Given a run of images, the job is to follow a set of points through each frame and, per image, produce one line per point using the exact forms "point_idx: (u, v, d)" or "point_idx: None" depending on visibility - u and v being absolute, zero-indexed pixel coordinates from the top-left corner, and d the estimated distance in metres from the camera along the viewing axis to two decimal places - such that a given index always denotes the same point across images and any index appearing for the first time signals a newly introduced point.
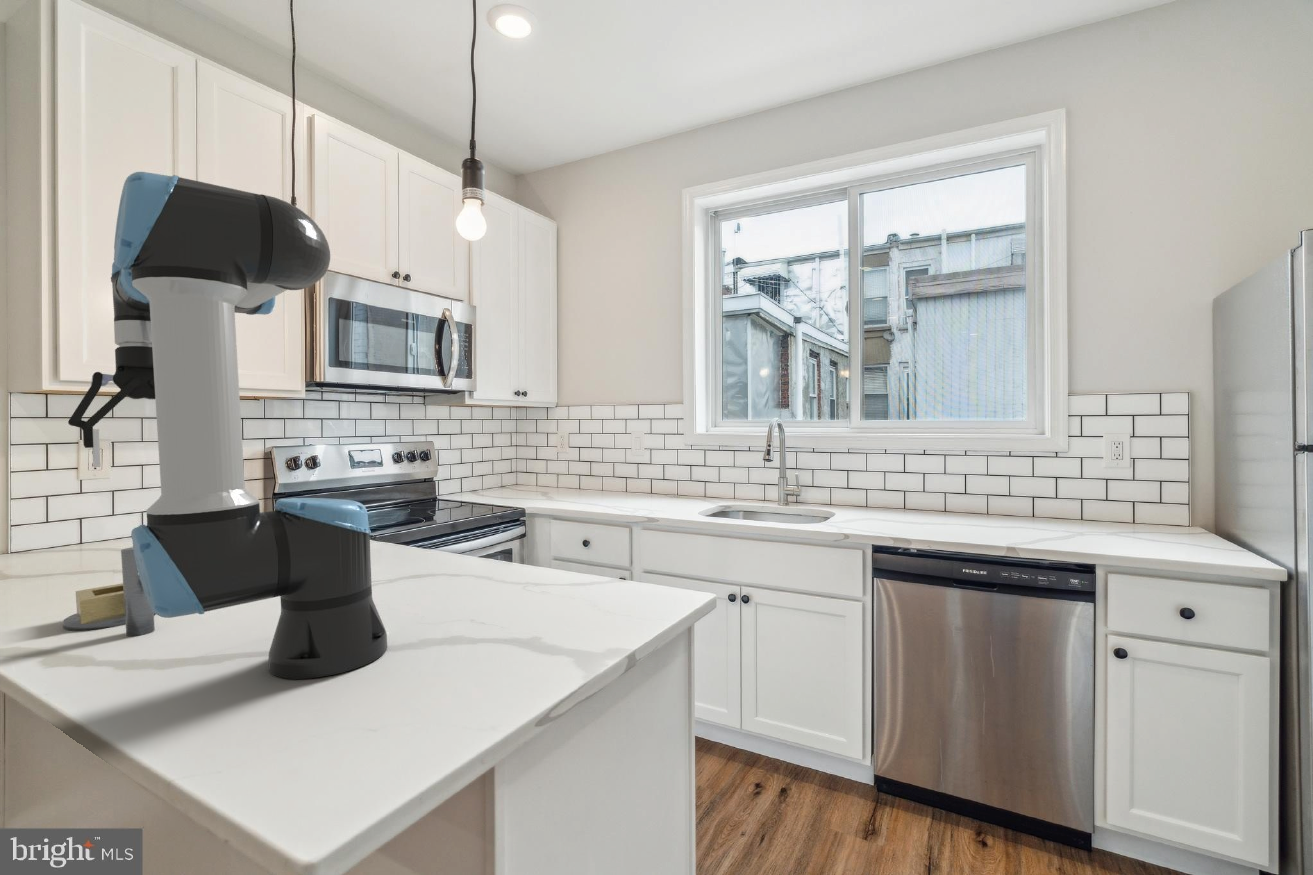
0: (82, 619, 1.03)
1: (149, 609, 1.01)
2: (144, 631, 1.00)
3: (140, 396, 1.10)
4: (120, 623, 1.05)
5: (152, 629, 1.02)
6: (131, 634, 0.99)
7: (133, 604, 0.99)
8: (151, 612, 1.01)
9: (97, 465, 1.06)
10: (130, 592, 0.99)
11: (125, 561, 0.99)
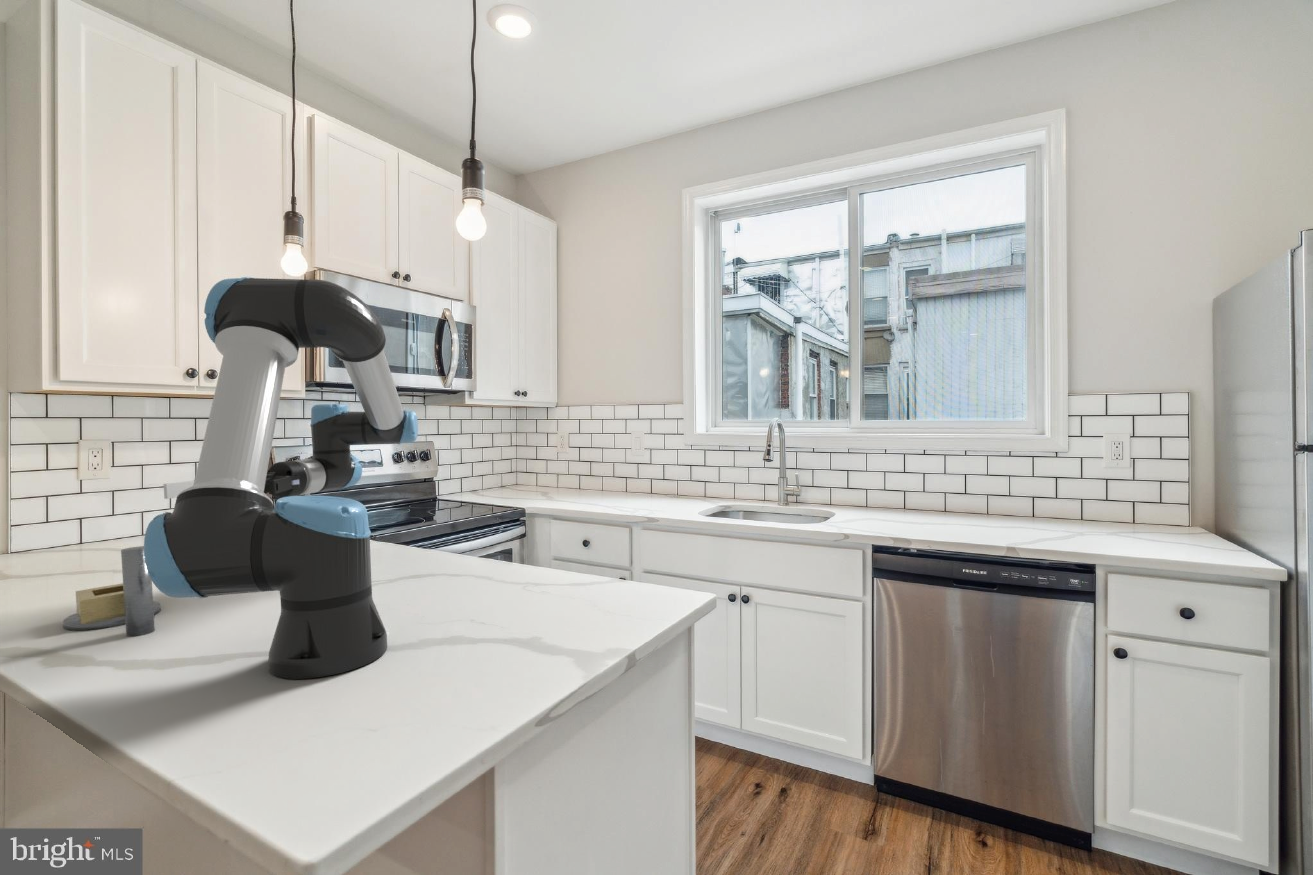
0: (82, 619, 1.03)
1: (149, 609, 1.01)
2: (144, 631, 1.00)
3: None
4: (120, 623, 1.05)
5: (152, 629, 1.02)
6: (131, 634, 0.99)
7: (133, 604, 0.99)
8: (151, 612, 1.01)
9: None
10: (130, 592, 0.99)
11: (125, 561, 0.99)
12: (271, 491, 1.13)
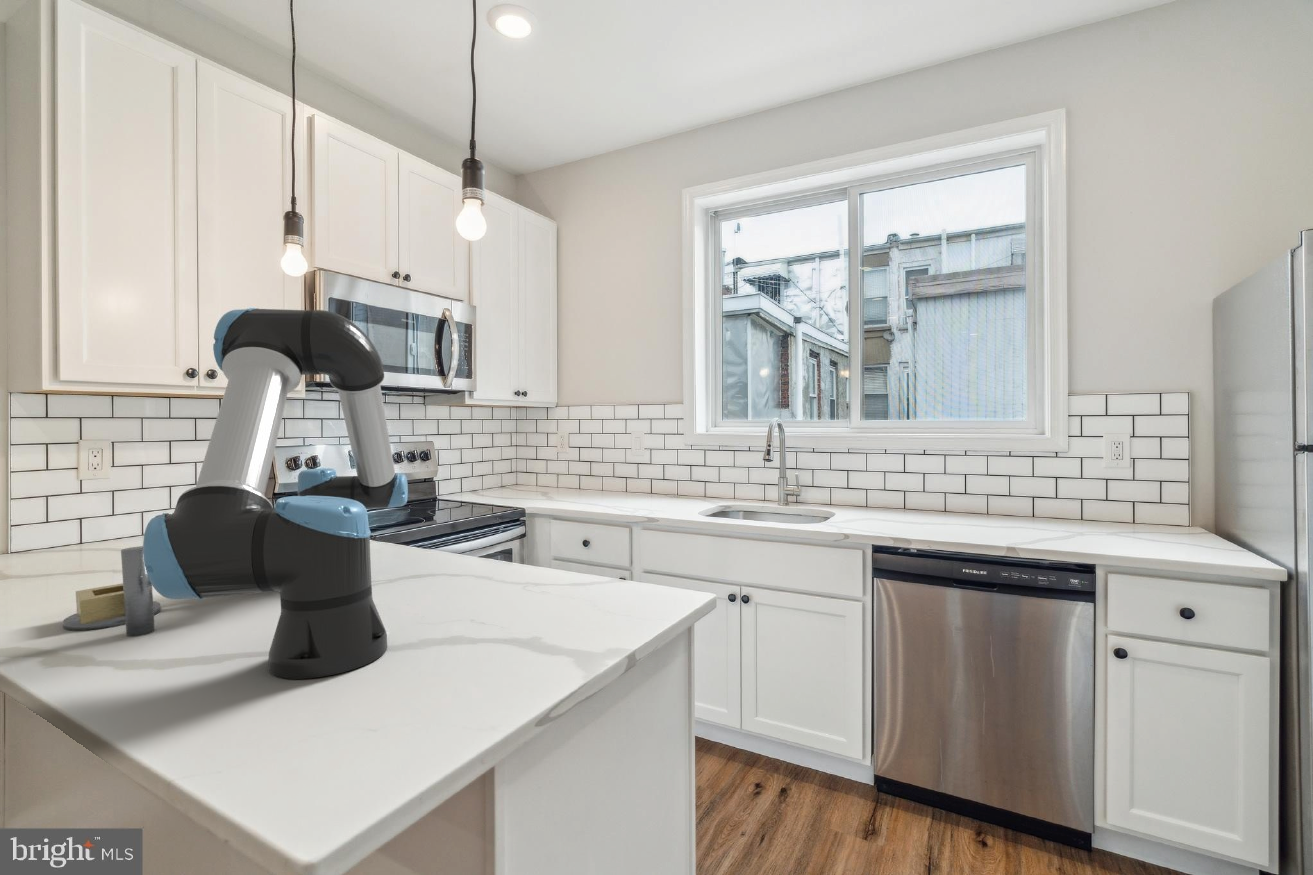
0: (82, 619, 1.03)
1: (149, 609, 1.01)
2: (144, 631, 1.00)
3: None
4: (120, 623, 1.05)
5: (152, 629, 1.02)
6: (131, 634, 0.99)
7: (133, 604, 0.99)
8: (151, 612, 1.01)
9: None
10: (130, 592, 0.99)
11: (125, 561, 0.99)
12: None
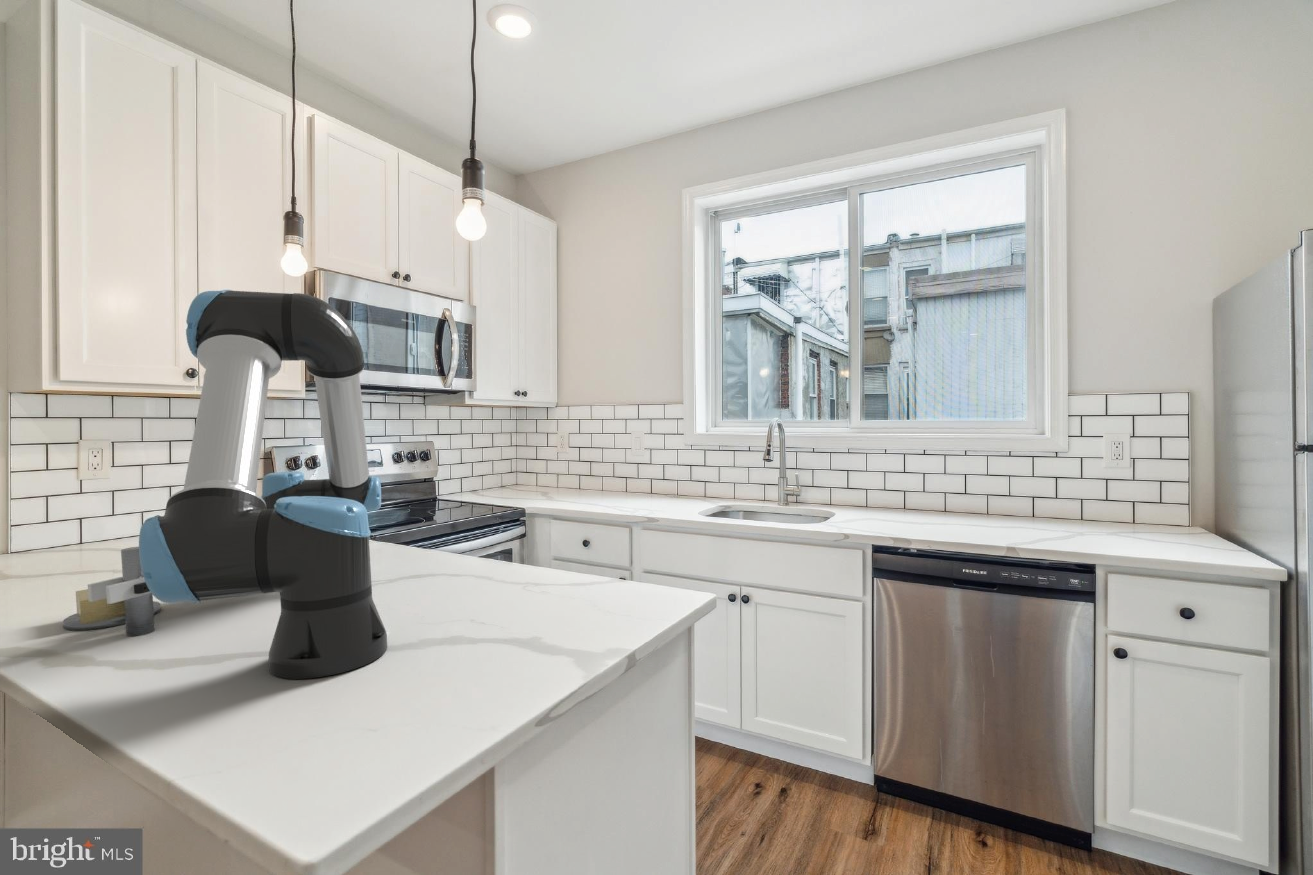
0: (82, 619, 1.03)
1: (149, 609, 1.01)
2: (144, 631, 1.00)
3: None
4: (120, 623, 1.05)
5: (152, 629, 1.02)
6: (131, 634, 0.99)
7: (133, 604, 0.99)
8: (151, 612, 1.01)
9: (91, 584, 0.97)
10: None
11: (125, 561, 0.99)
12: None
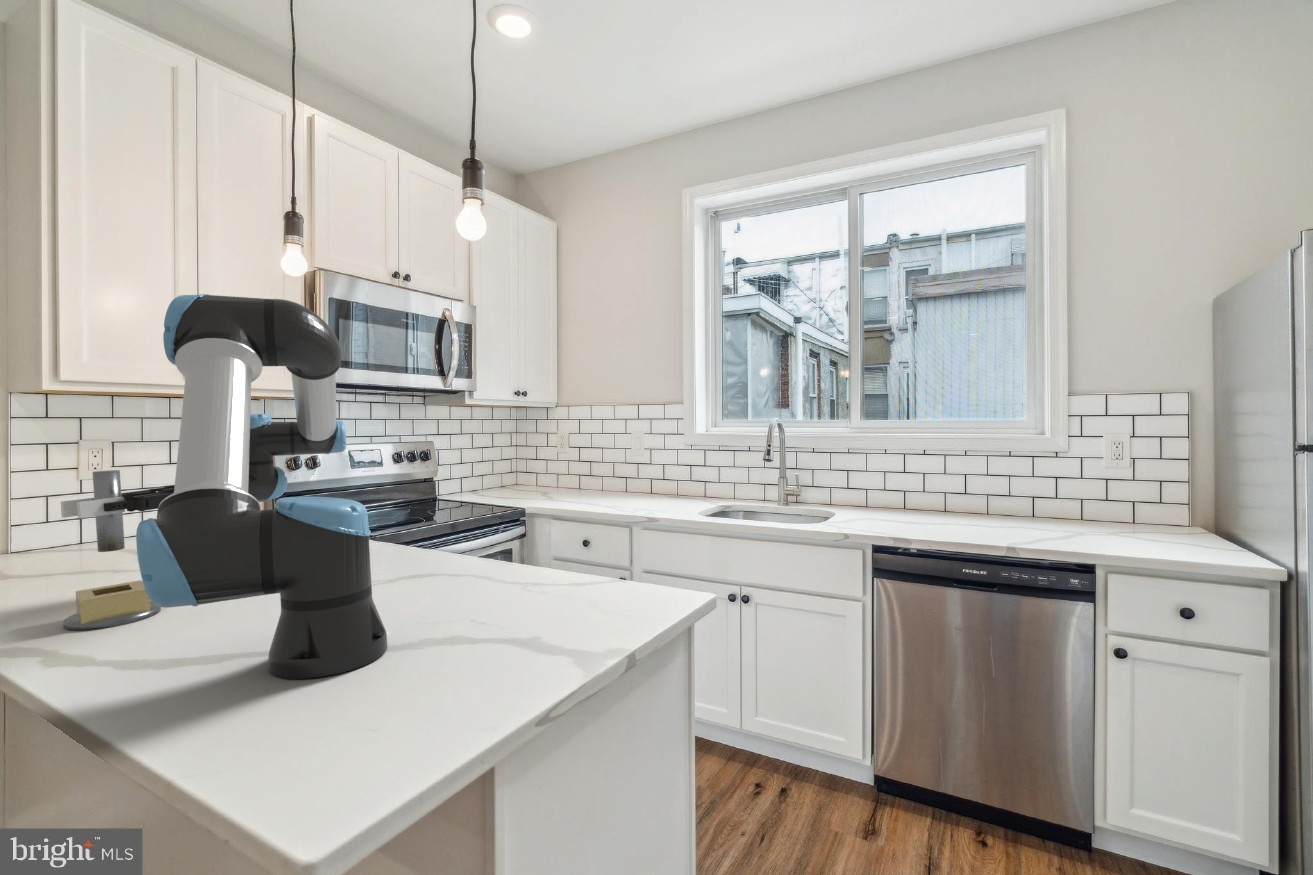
0: (82, 619, 1.03)
1: (119, 528, 1.09)
2: (114, 547, 1.08)
3: (160, 492, 1.17)
4: (120, 623, 1.05)
5: (122, 546, 1.09)
6: (102, 550, 1.07)
7: (103, 521, 1.07)
8: (121, 531, 1.09)
9: (63, 501, 1.04)
10: None
11: (96, 482, 1.07)
12: (140, 508, 1.09)
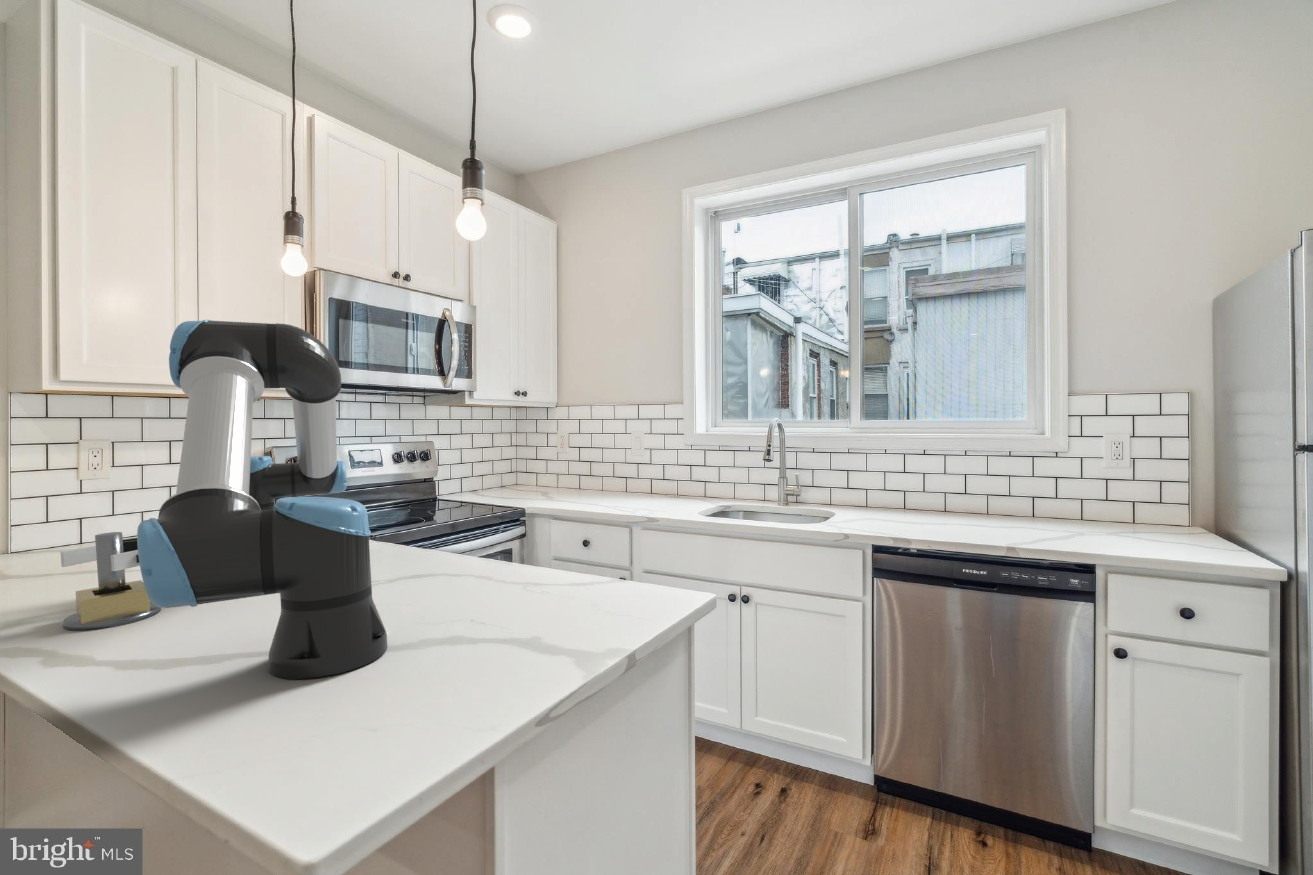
0: (82, 619, 1.03)
1: (122, 590, 1.09)
2: None
3: None
4: (120, 623, 1.05)
5: None
6: None
7: (106, 585, 1.07)
8: None
9: (63, 551, 1.08)
10: (103, 574, 1.07)
11: (99, 546, 1.07)
12: None
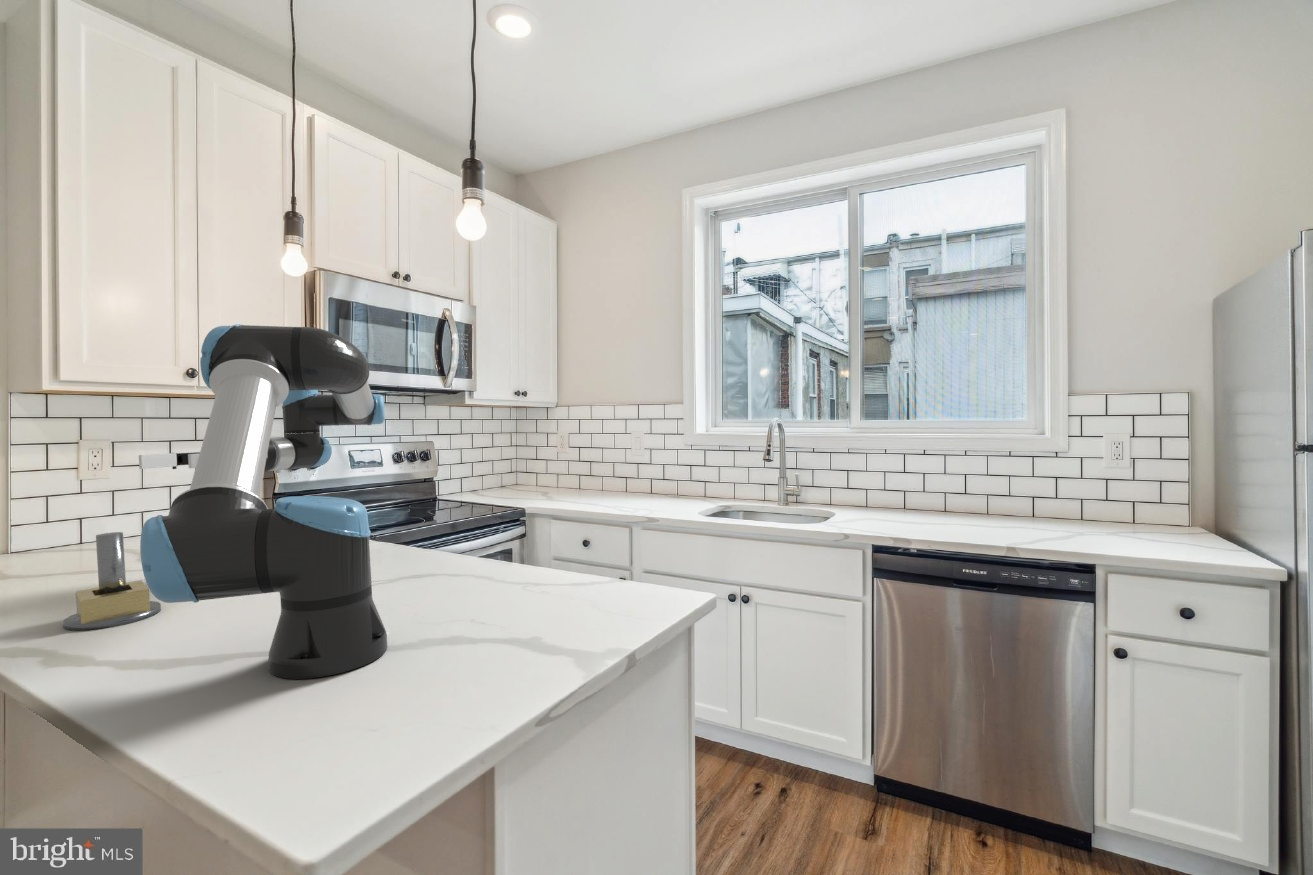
0: (82, 619, 1.03)
1: (122, 590, 1.09)
2: None
3: None
4: (120, 623, 1.05)
5: None
6: None
7: (106, 585, 1.08)
8: None
9: None
10: (104, 574, 1.07)
11: (99, 545, 1.07)
12: None
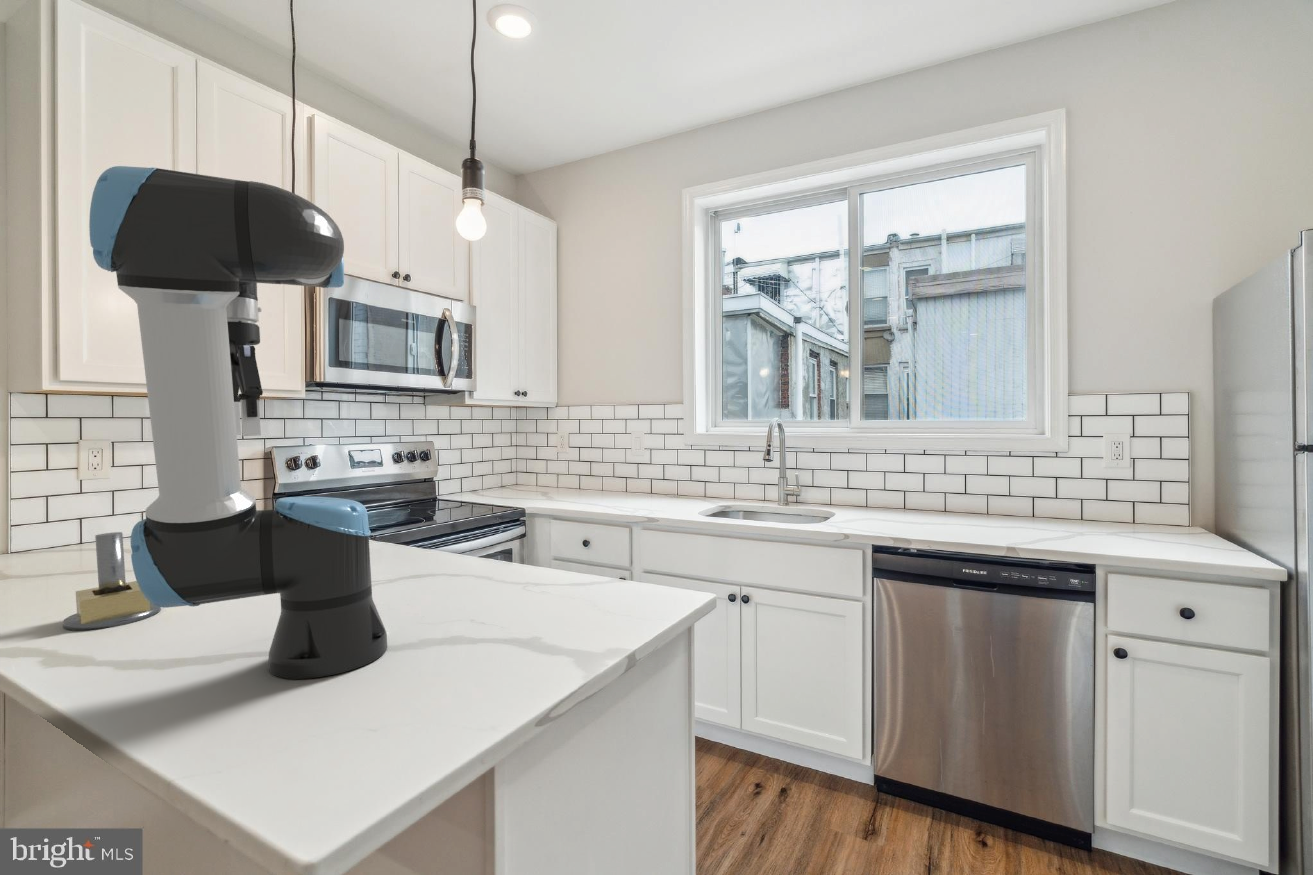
0: (82, 619, 1.03)
1: (122, 590, 1.09)
2: None
3: (230, 370, 1.16)
4: (120, 623, 1.05)
5: None
6: None
7: (106, 585, 1.08)
8: None
9: None
10: (104, 574, 1.07)
11: (99, 545, 1.07)
12: (258, 394, 1.10)
